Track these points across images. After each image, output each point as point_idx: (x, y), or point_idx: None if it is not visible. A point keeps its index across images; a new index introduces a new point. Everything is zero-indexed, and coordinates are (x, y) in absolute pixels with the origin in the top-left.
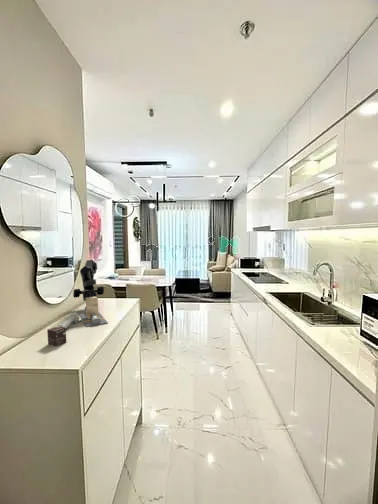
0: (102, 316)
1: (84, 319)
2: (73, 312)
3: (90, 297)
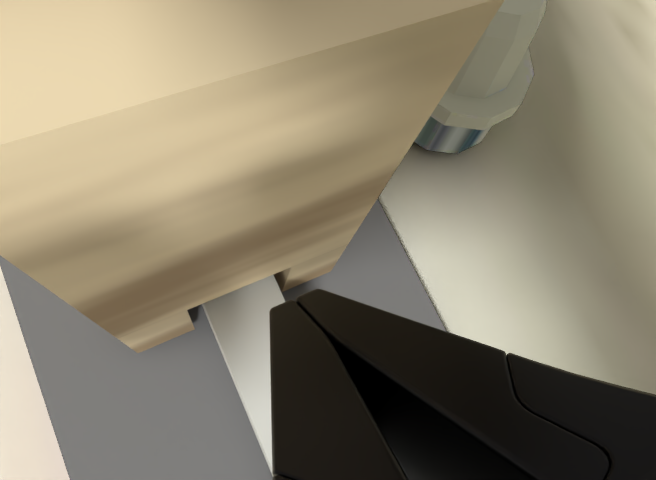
0: (14, 292)
1: None
2: (534, 10)
3: (260, 3)
